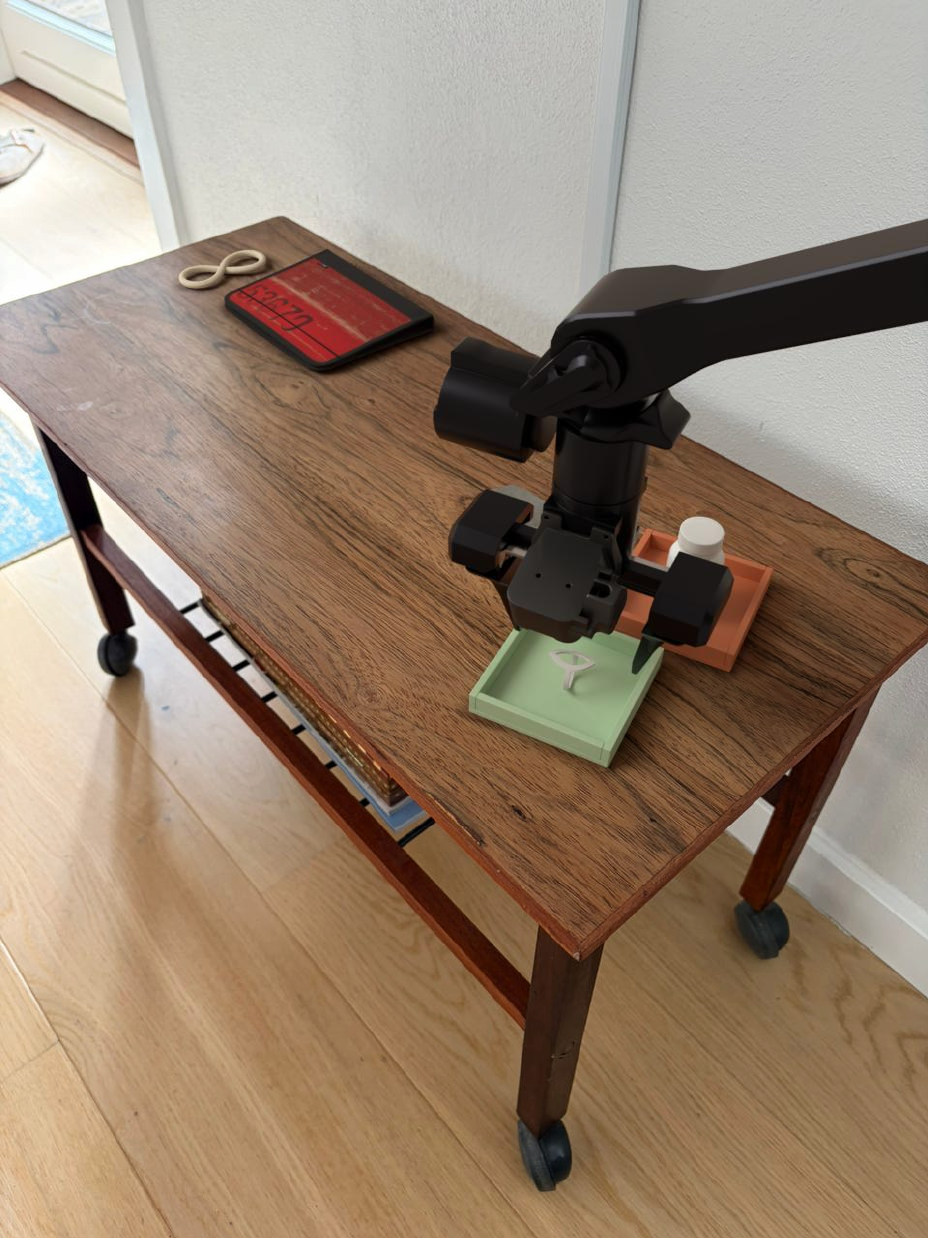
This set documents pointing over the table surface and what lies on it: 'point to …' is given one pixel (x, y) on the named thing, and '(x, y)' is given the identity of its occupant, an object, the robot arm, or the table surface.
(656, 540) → the terracotta tray
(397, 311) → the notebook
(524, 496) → the stone
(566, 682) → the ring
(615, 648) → the sage tray
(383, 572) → the table surface
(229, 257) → the decorative object
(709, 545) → the pill bottle
